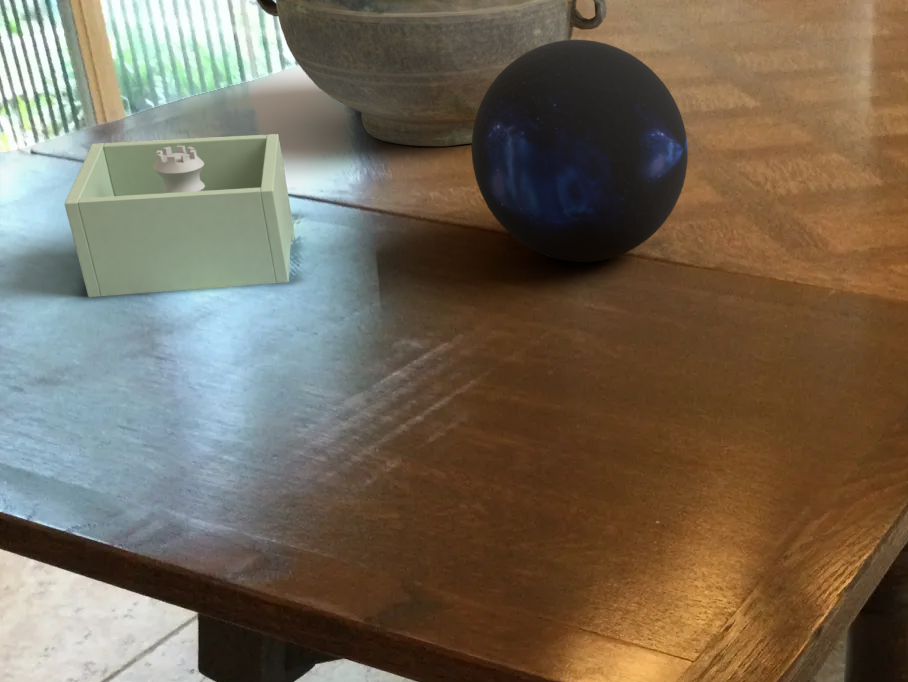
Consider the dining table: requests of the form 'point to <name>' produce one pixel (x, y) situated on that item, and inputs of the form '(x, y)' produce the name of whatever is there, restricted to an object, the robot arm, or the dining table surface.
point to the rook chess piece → (179, 170)
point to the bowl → (419, 56)
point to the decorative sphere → (579, 150)
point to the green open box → (181, 217)
